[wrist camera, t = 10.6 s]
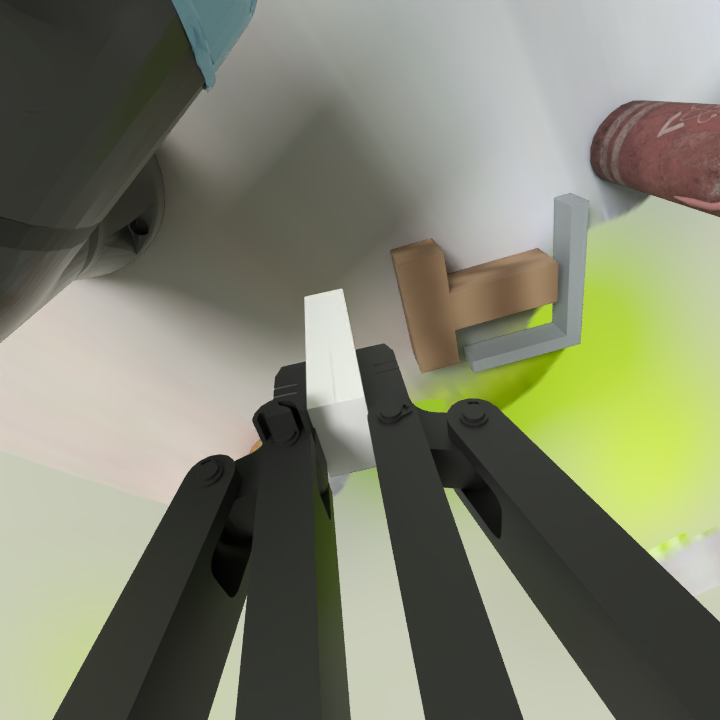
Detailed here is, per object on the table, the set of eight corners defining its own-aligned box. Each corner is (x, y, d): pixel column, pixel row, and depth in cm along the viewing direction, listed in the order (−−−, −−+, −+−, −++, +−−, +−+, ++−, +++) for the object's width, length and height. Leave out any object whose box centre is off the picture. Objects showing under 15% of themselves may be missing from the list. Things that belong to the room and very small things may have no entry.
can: (570, 153, 36) (697, 188, 24) (633, 82, 33) (808, 82, 22) (609, 196, 38) (741, 245, 27) (670, 132, 36) (846, 157, 24)
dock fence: (464, 357, 47) (473, 372, 44) (447, 229, 38) (457, 239, 36) (565, 329, 46) (580, 343, 43) (570, 193, 38) (589, 200, 35)
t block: (413, 352, 45) (421, 373, 42) (390, 250, 39) (398, 265, 35) (538, 317, 45) (556, 336, 41) (537, 207, 38) (559, 219, 35)
